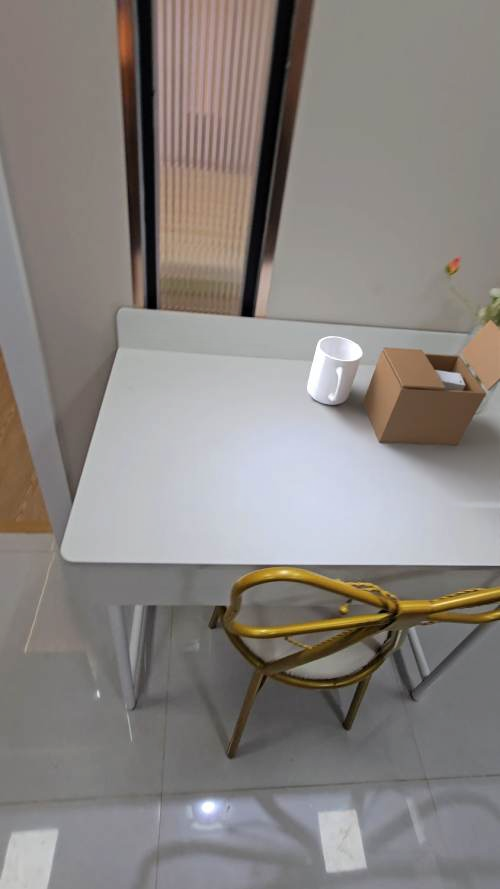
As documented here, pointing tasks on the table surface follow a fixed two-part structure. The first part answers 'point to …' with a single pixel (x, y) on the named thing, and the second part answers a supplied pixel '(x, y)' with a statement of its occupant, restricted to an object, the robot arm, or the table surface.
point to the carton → (420, 398)
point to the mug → (333, 370)
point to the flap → (485, 354)
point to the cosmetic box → (451, 380)
